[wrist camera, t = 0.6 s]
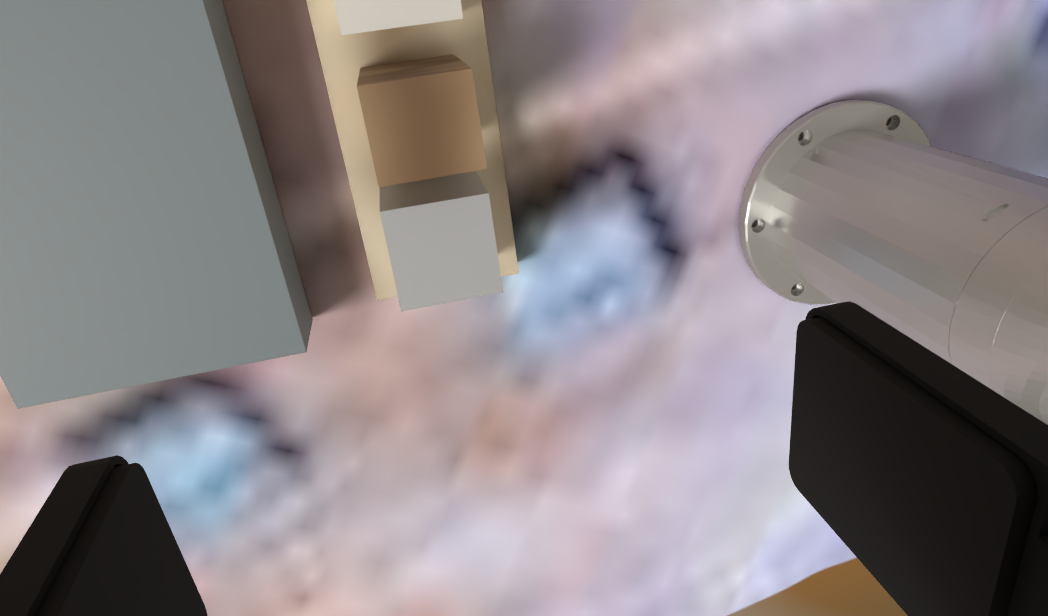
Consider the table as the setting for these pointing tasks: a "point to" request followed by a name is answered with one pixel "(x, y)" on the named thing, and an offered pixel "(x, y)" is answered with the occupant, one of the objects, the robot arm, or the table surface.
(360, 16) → the crate
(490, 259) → the block
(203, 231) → the dock
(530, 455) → the table surface
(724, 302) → the table surface
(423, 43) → the pallet
